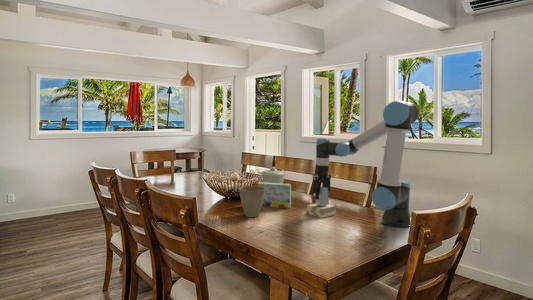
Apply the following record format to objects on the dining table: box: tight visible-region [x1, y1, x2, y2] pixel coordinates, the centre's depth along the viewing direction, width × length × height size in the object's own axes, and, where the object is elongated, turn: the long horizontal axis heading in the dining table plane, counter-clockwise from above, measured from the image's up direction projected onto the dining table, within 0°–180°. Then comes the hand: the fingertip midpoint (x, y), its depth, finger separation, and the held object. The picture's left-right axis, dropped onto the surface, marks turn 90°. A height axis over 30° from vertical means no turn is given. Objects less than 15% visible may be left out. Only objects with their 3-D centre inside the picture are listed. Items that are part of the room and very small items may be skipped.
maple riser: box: [306, 202, 337, 219], centre depth 202 cm, size 12×12×5 cm
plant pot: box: [238, 185, 265, 218], centre depth 196 cm, size 15×15×16 cm
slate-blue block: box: [317, 186, 329, 206], centre depth 201 cm, size 5×5×10 cm
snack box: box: [256, 181, 292, 210], centre depth 218 cm, size 21×6×15 cm, turn 76°
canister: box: [260, 166, 286, 184], centre depth 251 cm, size 18×18×21 cm
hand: (321, 204), depth 201 cm, fingers closed on slate-blue block, 5 cm apart
